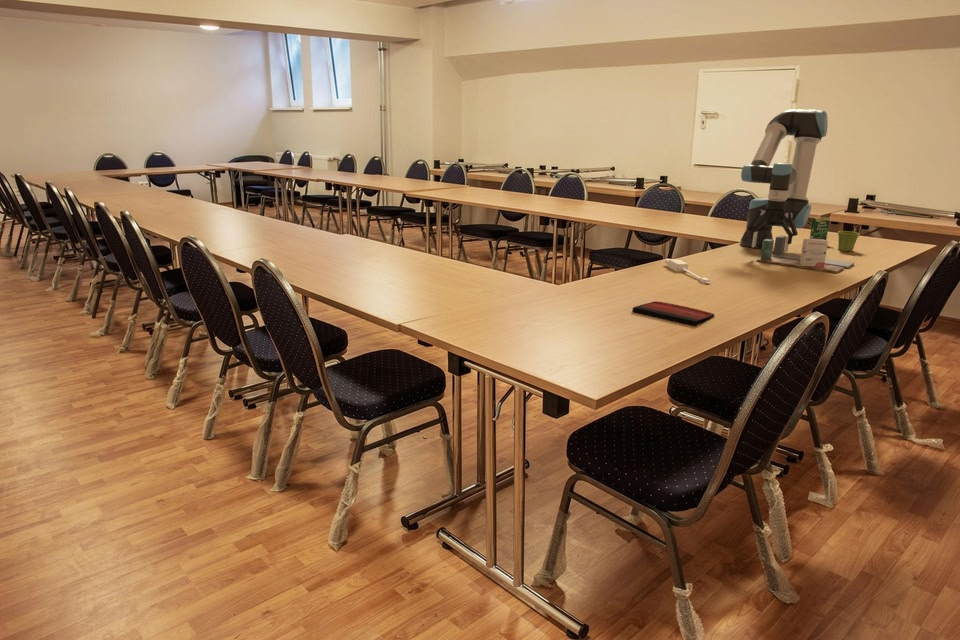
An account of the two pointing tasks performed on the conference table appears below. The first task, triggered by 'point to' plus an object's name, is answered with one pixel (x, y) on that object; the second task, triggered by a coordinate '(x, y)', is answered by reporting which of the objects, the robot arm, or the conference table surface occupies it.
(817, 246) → the ink box
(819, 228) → the coffee box
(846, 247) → the plant pot
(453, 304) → the conference table surface
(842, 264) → the grey strip
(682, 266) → the charging cable
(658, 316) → the binder
